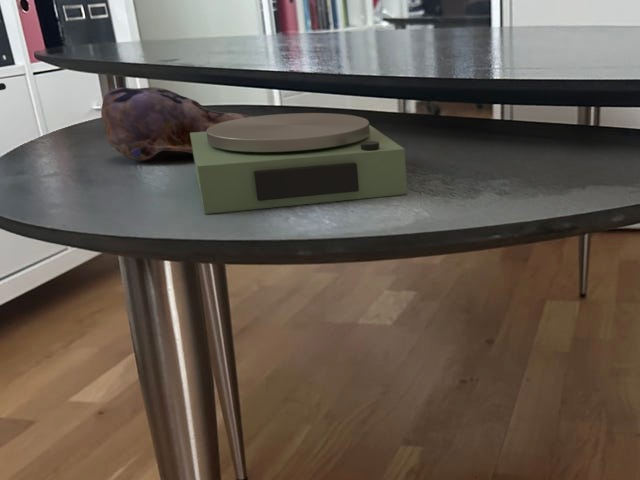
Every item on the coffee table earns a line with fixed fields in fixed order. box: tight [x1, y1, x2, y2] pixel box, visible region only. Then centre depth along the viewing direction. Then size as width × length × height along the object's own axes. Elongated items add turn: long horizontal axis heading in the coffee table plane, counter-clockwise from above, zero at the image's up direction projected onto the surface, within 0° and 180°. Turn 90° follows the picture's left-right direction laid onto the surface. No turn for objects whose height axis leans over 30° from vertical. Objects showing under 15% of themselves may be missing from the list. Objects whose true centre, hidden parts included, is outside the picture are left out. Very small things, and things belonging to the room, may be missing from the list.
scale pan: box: [206, 112, 370, 152], centre depth 59 cm, size 11×11×1 cm
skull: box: [100, 86, 252, 162], centre depth 69 cm, size 12×8×6 cm, turn 88°
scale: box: [190, 124, 408, 215], centre depth 59 cm, size 13×13×3 cm
